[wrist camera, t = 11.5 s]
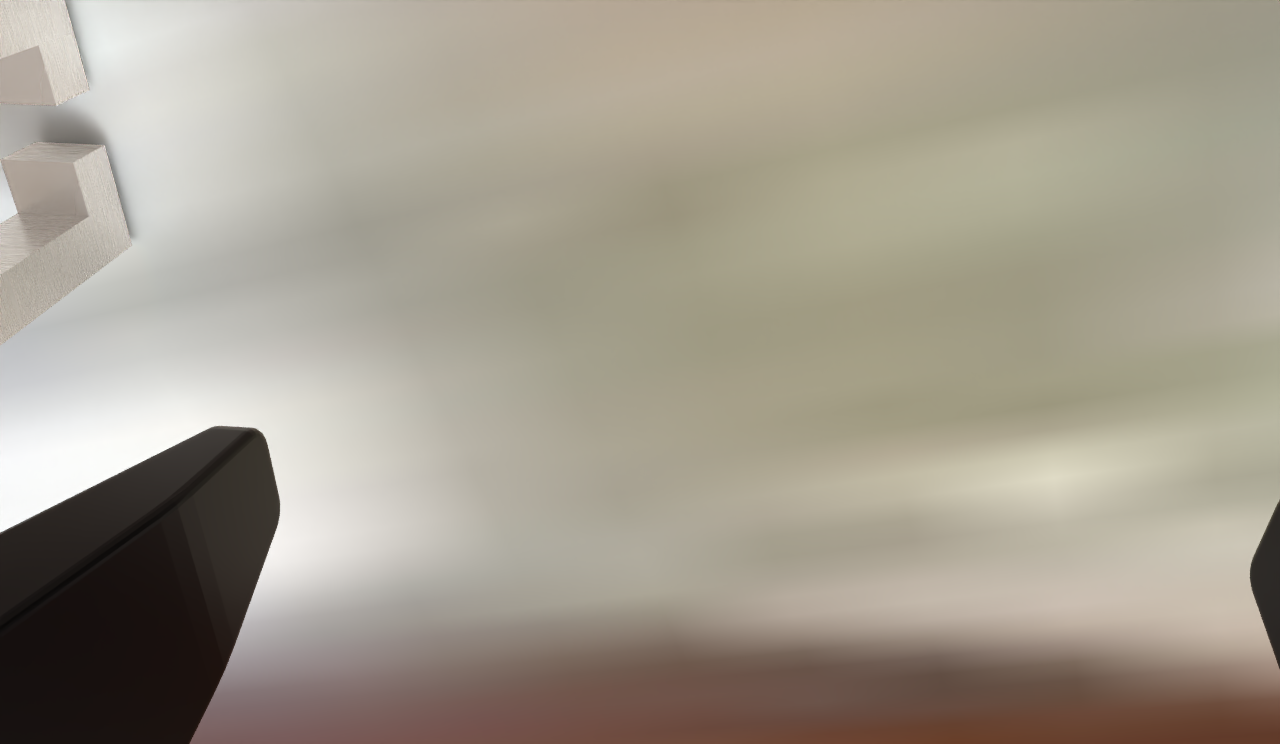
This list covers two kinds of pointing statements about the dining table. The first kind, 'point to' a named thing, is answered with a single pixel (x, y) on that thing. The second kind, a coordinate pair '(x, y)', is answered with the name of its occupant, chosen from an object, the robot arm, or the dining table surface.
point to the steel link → (50, 173)
